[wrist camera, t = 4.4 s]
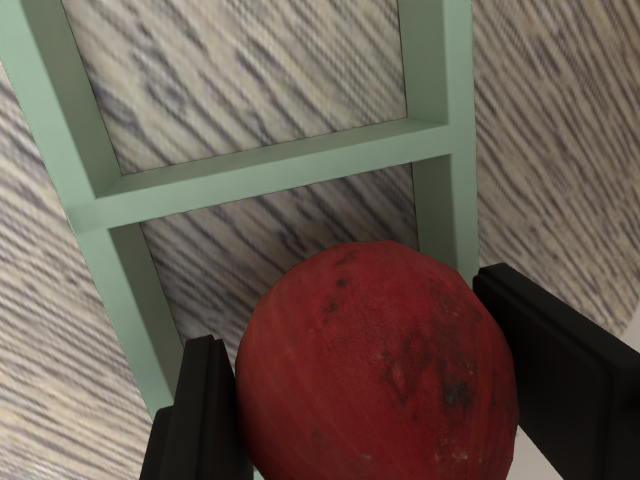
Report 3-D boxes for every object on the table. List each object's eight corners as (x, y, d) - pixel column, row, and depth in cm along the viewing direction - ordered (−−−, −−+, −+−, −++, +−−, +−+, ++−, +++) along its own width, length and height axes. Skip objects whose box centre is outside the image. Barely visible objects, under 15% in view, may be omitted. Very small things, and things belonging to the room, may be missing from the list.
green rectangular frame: (401, -305, 9) (462, -439, 7) (446, 369, 16) (483, 418, 13) (-79, -277, 8) (-208, -432, 5) (195, 443, 14) (189, 510, 12)
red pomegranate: (283, 170, 11) (377, 347, 4) (456, 243, 13) (756, 462, 5) (207, 349, 12) (164, 735, 5) (371, 392, 14) (517, 726, 7)
